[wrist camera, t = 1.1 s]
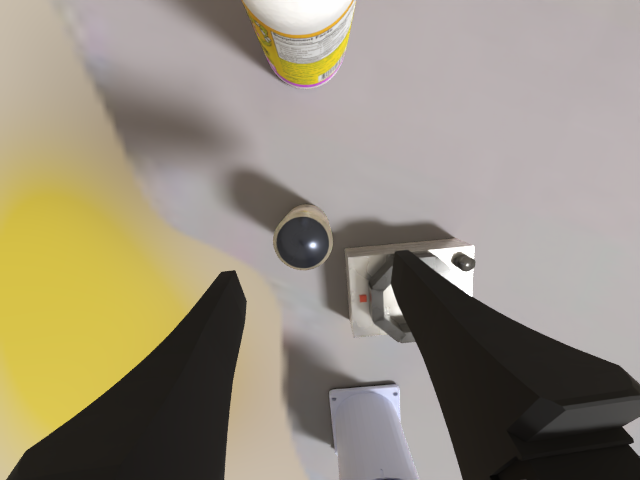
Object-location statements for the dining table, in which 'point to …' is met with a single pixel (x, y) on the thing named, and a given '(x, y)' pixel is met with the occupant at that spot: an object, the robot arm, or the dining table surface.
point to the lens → (303, 238)
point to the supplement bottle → (302, 37)
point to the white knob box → (375, 282)
